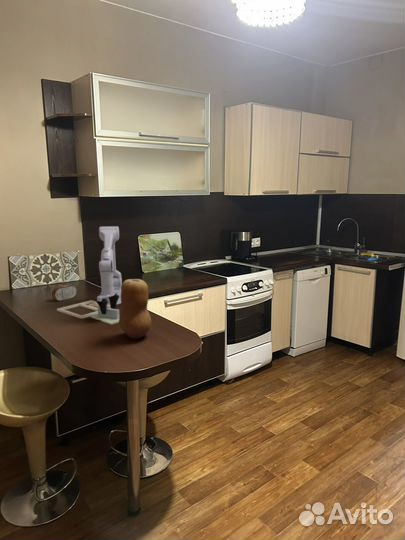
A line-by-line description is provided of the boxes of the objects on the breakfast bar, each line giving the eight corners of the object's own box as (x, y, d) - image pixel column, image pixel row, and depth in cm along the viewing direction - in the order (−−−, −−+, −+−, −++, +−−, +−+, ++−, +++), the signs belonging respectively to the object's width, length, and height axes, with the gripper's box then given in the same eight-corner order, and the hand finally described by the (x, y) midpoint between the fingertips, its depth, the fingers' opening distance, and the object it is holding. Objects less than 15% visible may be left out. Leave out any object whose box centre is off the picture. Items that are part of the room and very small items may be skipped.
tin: (75, 296, 236) (74, 282, 234) (78, 297, 234) (77, 283, 232) (52, 301, 224) (51, 287, 223) (55, 302, 222) (54, 288, 221)
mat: (106, 313, 203) (106, 312, 203) (127, 319, 193) (127, 318, 193) (90, 317, 195) (90, 316, 195) (111, 324, 186) (111, 323, 186)
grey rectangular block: (100, 315, 197) (100, 307, 196) (119, 318, 193) (119, 309, 192) (98, 316, 195) (97, 308, 195) (117, 319, 191) (116, 310, 191)
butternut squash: (158, 336, 170) (156, 279, 165) (133, 345, 160) (131, 285, 156) (137, 329, 179) (135, 275, 174) (112, 337, 169) (110, 280, 165)
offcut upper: (94, 304, 217) (94, 302, 216) (106, 308, 211) (105, 306, 210) (88, 306, 214) (88, 304, 214) (100, 309, 208) (100, 307, 208)
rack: (91, 302, 222) (91, 300, 222) (115, 309, 209) (115, 306, 209) (57, 311, 206) (56, 308, 206) (81, 319, 193) (81, 316, 193)
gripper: (109, 281, 199) (110, 307, 202) (91, 287, 186) (92, 315, 189) (121, 282, 197) (122, 308, 199) (103, 288, 183) (104, 316, 186)
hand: (108, 311), depth 194 cm, fingers open, 7 cm apart
